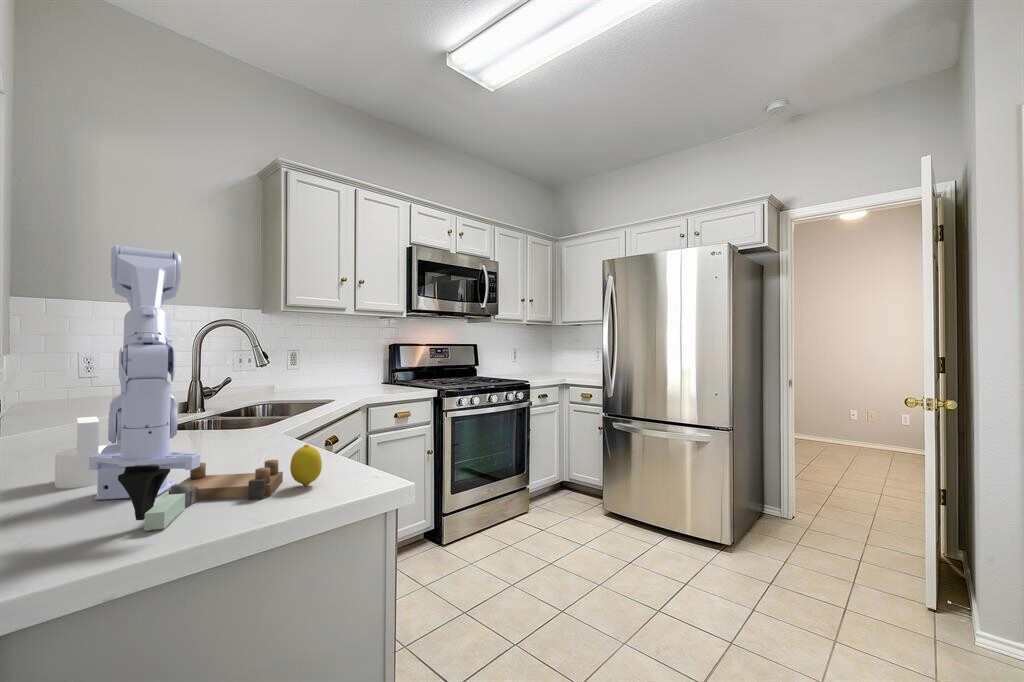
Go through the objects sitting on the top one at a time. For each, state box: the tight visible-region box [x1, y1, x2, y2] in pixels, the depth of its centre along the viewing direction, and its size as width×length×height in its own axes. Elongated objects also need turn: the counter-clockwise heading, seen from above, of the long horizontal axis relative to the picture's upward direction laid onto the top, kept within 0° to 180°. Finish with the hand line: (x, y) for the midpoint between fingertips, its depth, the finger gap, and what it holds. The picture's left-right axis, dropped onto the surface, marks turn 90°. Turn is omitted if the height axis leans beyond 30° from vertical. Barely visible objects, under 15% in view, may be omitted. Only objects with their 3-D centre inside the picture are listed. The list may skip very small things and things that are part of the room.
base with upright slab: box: [54, 416, 107, 489], centre depth 93 cm, size 9×9×12 cm
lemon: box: [289, 444, 323, 487], centre depth 91 cm, size 6×6×8 cm
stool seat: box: [168, 459, 284, 509], centre depth 85 cm, size 16×13×4 cm
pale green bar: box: [143, 493, 186, 531], centre depth 73 cm, size 9×2×2 cm, turn 19°
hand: (144, 517), depth 70 cm, fingers closed
